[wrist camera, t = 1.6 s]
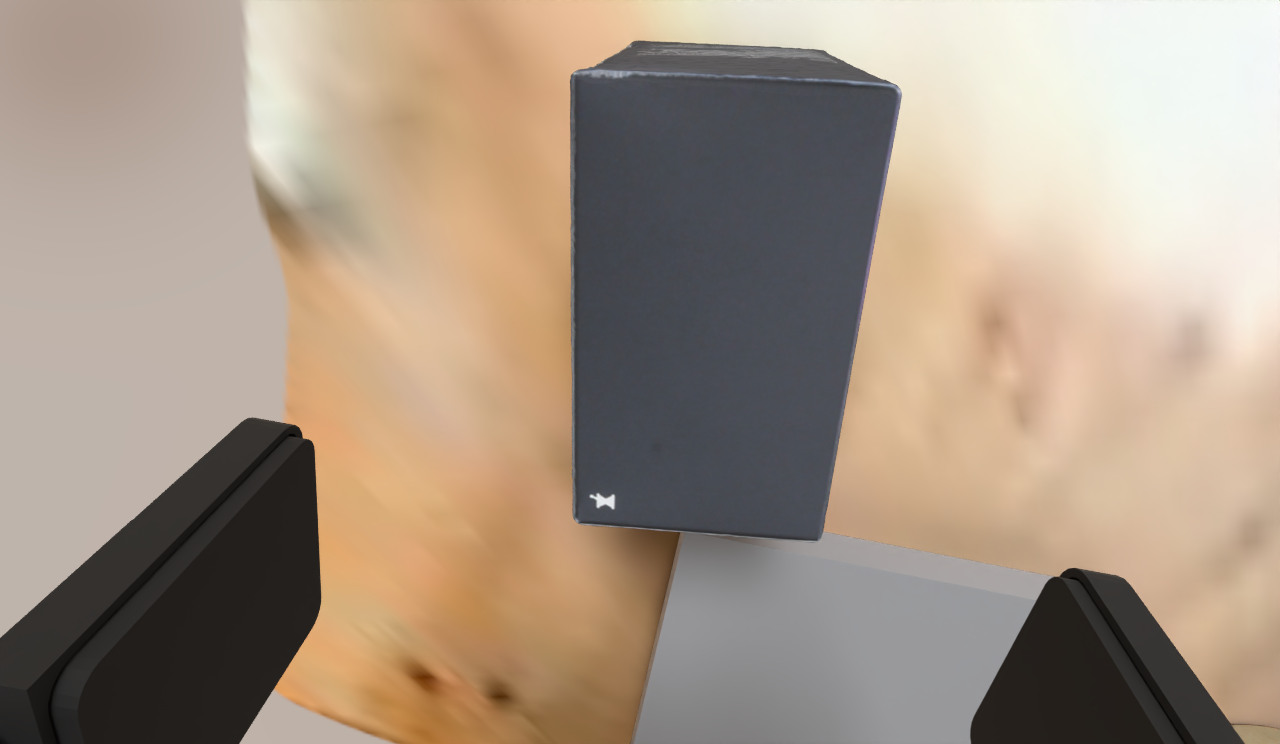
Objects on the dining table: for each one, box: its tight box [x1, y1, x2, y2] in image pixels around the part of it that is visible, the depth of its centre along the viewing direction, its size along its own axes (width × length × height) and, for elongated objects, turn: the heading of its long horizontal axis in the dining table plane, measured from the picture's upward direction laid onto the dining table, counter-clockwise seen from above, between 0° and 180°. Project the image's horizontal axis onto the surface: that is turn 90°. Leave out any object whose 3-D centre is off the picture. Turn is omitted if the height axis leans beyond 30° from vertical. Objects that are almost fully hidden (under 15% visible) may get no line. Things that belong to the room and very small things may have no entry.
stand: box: [630, 532, 1053, 744], centre depth 31 cm, size 16×16×4 cm
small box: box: [570, 41, 902, 543], centre depth 20 cm, size 11×6×10 cm, turn 178°
